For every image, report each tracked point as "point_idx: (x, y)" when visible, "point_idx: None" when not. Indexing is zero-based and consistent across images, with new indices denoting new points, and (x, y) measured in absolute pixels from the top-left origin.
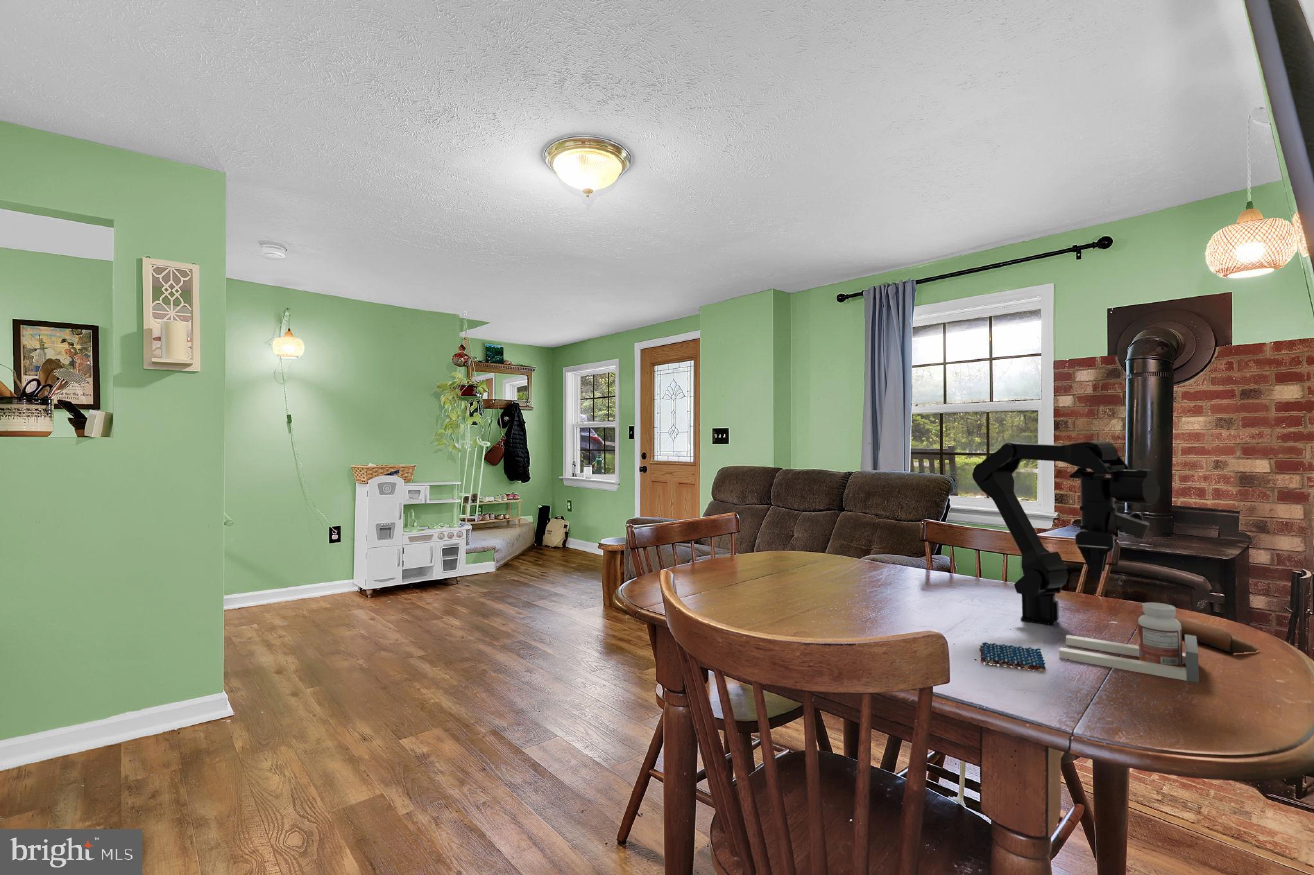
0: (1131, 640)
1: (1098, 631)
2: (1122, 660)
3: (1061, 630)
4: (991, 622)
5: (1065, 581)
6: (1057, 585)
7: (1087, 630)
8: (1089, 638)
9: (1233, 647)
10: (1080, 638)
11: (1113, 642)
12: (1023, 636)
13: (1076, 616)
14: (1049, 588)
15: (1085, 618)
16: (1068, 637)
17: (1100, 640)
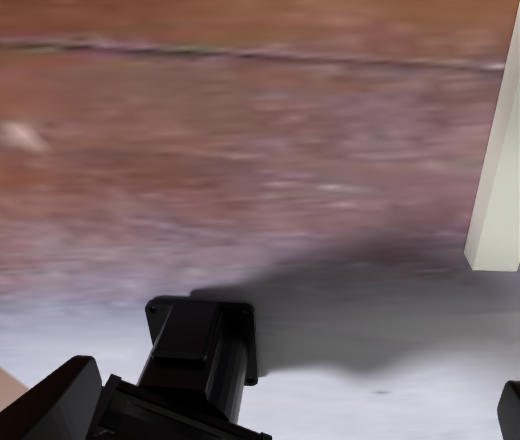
0: (284, 47)
1: (220, 173)
2: None
3: (296, 277)
4: (329, 431)
5: (132, 420)
6: (184, 427)
7: (234, 207)
8: (493, 200)
9: None
10: (511, 228)
11: (518, 111)
12: (453, 360)
13: (50, 251)
14: (221, 437)
15: (53, 224)
16: (514, 264)
17: (507, 161)
